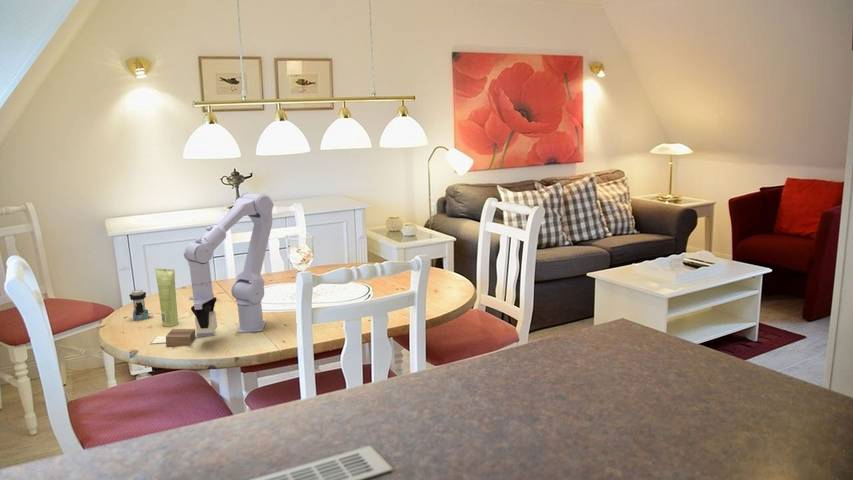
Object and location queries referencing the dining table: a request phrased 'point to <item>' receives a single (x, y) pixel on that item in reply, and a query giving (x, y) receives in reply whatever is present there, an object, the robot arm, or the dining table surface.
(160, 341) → the swatch
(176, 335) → the walnut block
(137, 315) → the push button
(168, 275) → the tube
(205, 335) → the slate cube
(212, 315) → the cream cube
